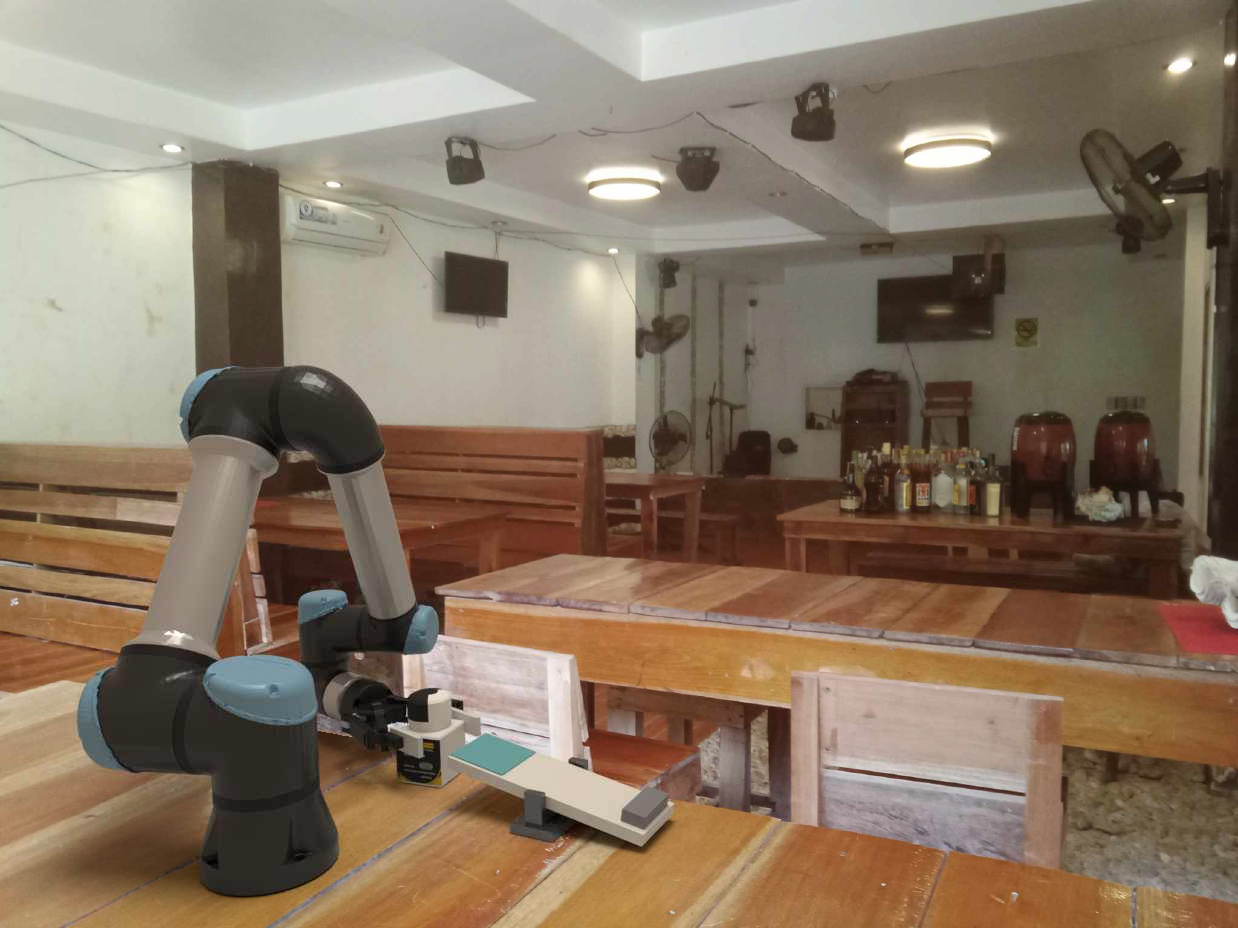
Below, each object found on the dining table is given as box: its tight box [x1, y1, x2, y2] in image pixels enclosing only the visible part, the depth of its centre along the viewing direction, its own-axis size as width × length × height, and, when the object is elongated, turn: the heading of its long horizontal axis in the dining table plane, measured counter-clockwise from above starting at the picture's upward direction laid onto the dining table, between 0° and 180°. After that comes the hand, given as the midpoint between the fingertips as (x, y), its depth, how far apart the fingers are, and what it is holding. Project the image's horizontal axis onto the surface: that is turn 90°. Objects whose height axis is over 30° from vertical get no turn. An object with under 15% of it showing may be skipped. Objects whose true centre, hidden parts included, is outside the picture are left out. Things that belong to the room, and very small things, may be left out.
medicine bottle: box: [395, 687, 466, 789], centre depth 133 cm, size 7×7×12 cm
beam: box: [447, 732, 675, 847], centre depth 120 cm, size 28×9×3 cm, turn 64°
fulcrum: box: [509, 756, 589, 843], centre depth 120 cm, size 6×13×5 cm, turn 153°
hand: (450, 736), depth 130 cm, fingers closed on medicine bottle, 9 cm apart
